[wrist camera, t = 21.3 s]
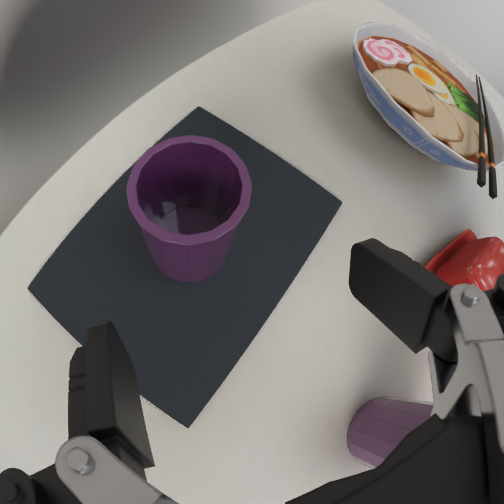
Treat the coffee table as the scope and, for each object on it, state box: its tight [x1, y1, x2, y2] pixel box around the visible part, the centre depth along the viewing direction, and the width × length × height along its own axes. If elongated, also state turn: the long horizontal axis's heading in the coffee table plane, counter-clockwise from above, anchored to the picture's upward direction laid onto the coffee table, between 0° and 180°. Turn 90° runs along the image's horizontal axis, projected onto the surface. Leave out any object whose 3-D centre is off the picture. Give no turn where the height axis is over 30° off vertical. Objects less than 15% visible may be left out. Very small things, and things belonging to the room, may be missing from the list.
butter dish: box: [425, 229, 504, 291], centre depth 23 cm, size 12×12×8 cm
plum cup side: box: [347, 397, 433, 469], centre depth 17 cm, size 6×6×8 cm
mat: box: [28, 107, 342, 428], centre depth 23 cm, size 22×16×1 cm
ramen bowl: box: [353, 22, 504, 199], centre depth 29 cm, size 25×23×8 cm
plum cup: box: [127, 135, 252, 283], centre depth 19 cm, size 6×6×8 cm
